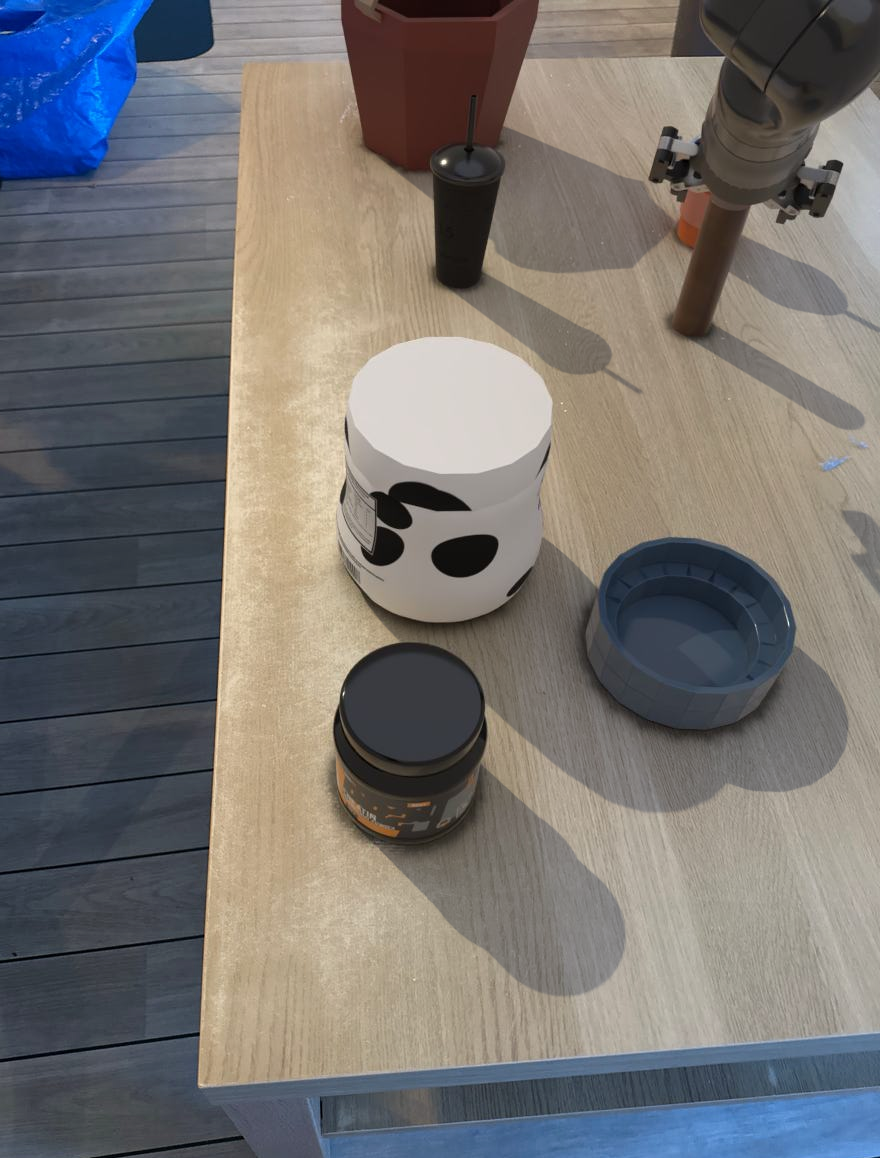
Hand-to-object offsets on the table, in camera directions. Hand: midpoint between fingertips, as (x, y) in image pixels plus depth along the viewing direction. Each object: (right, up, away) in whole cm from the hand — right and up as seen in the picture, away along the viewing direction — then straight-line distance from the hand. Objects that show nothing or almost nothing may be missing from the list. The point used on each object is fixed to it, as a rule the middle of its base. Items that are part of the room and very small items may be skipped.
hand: (732, 201), depth 85 cm
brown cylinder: (+3, -4, +22) cm, 22 cm away
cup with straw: (+7, +9, +32) cm, 34 cm away
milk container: (-25, -31, +2) cm, 40 cm away
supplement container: (-28, -49, -11) cm, 57 cm away
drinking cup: (-22, +2, +26) cm, 34 cm away
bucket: (-24, +26, +43) cm, 56 cm away
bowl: (-6, -39, -3) cm, 39 cm away
